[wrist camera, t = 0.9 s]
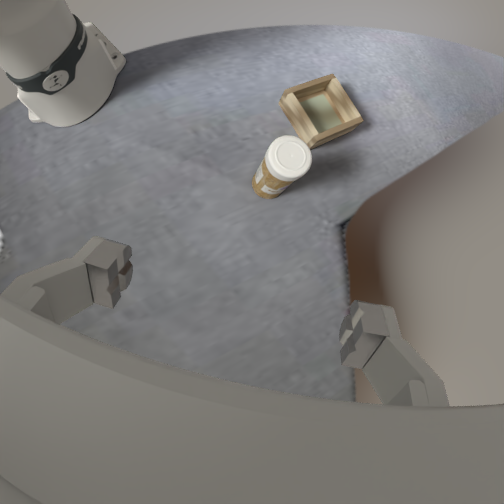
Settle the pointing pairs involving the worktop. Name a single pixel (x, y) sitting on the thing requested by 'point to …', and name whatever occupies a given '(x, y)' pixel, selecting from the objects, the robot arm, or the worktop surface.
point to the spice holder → (320, 110)
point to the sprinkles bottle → (281, 166)
